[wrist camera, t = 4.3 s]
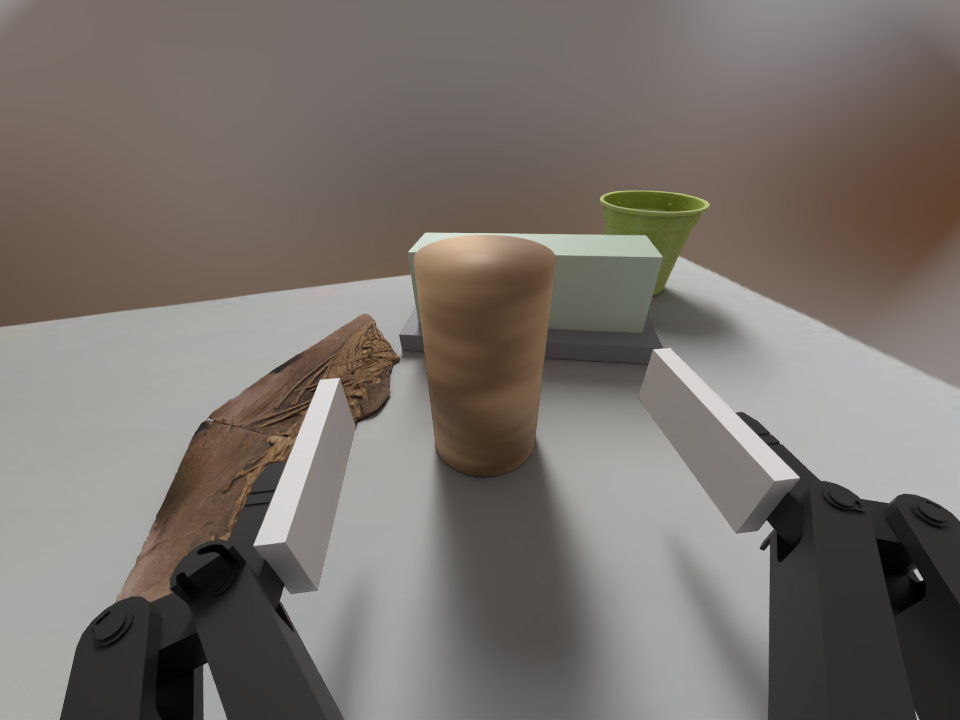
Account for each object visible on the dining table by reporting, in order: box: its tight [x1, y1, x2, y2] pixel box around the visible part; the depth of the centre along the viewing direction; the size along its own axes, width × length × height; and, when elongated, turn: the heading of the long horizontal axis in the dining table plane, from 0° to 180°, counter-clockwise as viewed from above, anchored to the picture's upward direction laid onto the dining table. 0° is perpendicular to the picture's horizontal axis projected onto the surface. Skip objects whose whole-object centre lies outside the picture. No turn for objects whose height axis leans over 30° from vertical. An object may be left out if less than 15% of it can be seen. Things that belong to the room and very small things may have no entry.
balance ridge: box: [399, 233, 663, 364], centre depth 30 cm, size 20×9×8 cm, turn 82°
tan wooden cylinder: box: [414, 235, 556, 477], centre depth 18 cm, size 6×6×11 cm
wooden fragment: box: [115, 314, 400, 603], centre depth 24 cm, size 26×11×1 cm, turn 171°
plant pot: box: [600, 191, 709, 296], centre depth 36 cm, size 9×9×9 cm
